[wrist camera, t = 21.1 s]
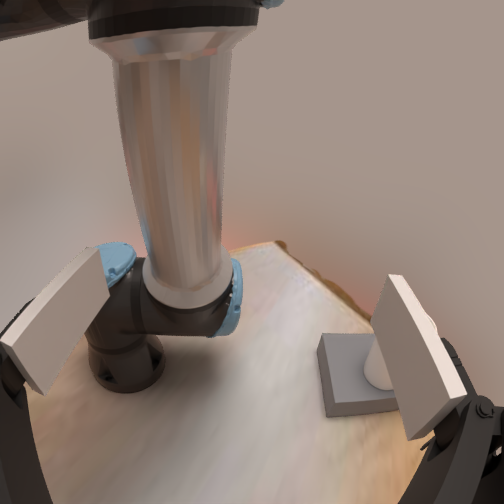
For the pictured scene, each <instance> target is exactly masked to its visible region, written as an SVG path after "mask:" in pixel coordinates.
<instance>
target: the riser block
mask: <svg viewBox="0 0 504 504" xmlns="http://www.w3.org/2000/svg"><path fill="white" fill-rule="evenodd" d="M374 339H375V334H330V333H322V336H321V339H320V342H319V345H318V348H317V355H318V361H319V367H320V374H321V381H322V387H323V394H324V402H325V409H326V417H339V416H352V415H363V414H372V413H380V412H387V411H394V410H399V406H398V403H397V400H396V396H395V393H394V390H381V389H378V388H376V387H374V386H373V385H371V384H370V383H369V382H368V381H367V379H366V378H365V375H364V371H363V368H364V364H365V361H366V358H367V356H368V354H369V351H370V349H371V346H372V344H373V341H374Z"/></svg>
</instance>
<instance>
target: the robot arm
mask: <svg viewBox="0 0 504 504" xmlns="http://www.w3.org/2000/svg"><path fill="white" fill-rule="evenodd" d="M283 2H284V0H0V41H3V40H7V39H12V38H17V37H21V36H26V35H31V34H35V33H40V32H44V31H49V30H53V29H57V28H60V27H64V26H67V25H70V24H75V23H78V22H81V21H85V20H88V29H89V43H90V44H91V45H93V46H95V47H96V48H98V49H99V50H101V51H103V52H104V53H106V54H107V55H108V56H109V57H110V58H111V60H112V66H113V78H114V87H115V96H116V104H117V112H118V119H119V126H120V132H121V138H122V144H123V150H124V156H125V161H126V166H127V171H128V176H129V181H130V185H131V190H132V194H133V199H134V203H135V207H136V211H137V215H138V219H139V223H140V227H141V231H142V234H143V238H144V242H145V245H146V249H147V252H148V255H147V257H146V258H140V257H136V252H135V250H134V249H133V247H132V246H131V245H129V244H127V243H123V242H111V243H106V244H102V245H99V246H96V247H93V248H91V247H86V248H85V249H84V250H83V251H82V252H81V253H80V254H79V255H78V256H77V257H75V258H74V259H73V260H72V261H71V262H70V263H69V264H68V265H67V266H66V267H65V268H64V269H63V270H62V271H61V272H60V273H59V274H58V275H57V276H56V277H55V278H54V279H53V280H52V281H51V282H50V283H49V284H48V285H47V286H46V287H45V288H44V289H43V290H42V291H41V292H40V293H39V295H38V296H37V297H35V298H34V299H32V300H31V301H29V302H28V303H26V304H25V305H24V307H23V308H22V309H21V310H20V312H19V313H17V314H16V316H15V317H14V319H12V320H11V321H10V323H9V324H8V325H7V326H6V327H5V329H4V330H3V331H2V332H1V333H0V504H53V502H52V499H51V497H50V494H49V491H48V488H47V485H46V482H45V479H44V476H43V473H42V470H41V466H40V462H39V459H38V455H37V451H36V447H35V442H34V438H33V433H32V428H31V422H30V416H29V410H28V403H27V394H26V390H25V387H24V386H23V384H24V383H25V381H26V382H27V383H28V384H29V386H30V387H31V388H32V390H34V391H36V392H38V393H40V394H42V395H44V396H46V395H47V393H48V391H49V389H50V387H51V386H52V384H53V382H54V381H55V379H56V377H57V375H58V374H59V372H60V370H61V369H62V367H63V365H64V364H65V362H66V361H67V359H68V357H69V356H70V354H71V353H72V351H73V349H74V348H75V346H76V345H77V343H78V342H79V340H80V339H81V337H82V336H83V334H85V336H86V338H87V341H88V351H89V364H90V368H91V370H92V372H93V374H94V376H95V378H96V379H97V381H98V382H99V383H100V384H101V385H102V386H104V387H105V388H107V389H109V390H112V391H115V392H120V393H132V392H137V391H140V390H143V389H145V388H147V387H149V386H150V385H152V384H153V383H154V382H155V381H156V380H157V379H158V378H159V377H160V376H161V374H162V372H163V370H164V367H165V354H164V350H163V347H162V344H161V342H160V341H159V339H158V338H157V336H156V335H168V336H206V337H208V338H212V337H216V336H227V335H230V334H231V333H233V332H234V330H235V329H236V327H237V325H238V321H239V318H240V312H241V308H240V306H241V303H242V294H243V278H242V269H241V265H240V263H239V262H238V261H237V260H236V259H232V258H230V255H229V253H228V251H227V250H226V249H225V248H224V246H223V245H222V244H221V230H222V227H221V226H222V201H223V178H224V156H225V139H226V122H227V108H228V94H229V80H230V69H231V57H232V49H233V48H234V46H235V45H236V44H237V43H238V42H240V41H241V40H242V39H244V38H245V37H246V36H248V35H249V34H250V33H252V32H253V31H255V30H256V28H257V22H258V14H259V8H260V7H265V8H266V9H269V8H271V7H278V6H279V5H281V4H282V3H283ZM370 322H371V325H372V328H373V330H374V333H375V336H376V339H377V341H378V344H379V347H380V350H381V353H382V356H383V359H384V362H385V365H386V368H387V371H388V374H389V377H390V380H391V383H392V386H393V390H394V393H395V396H396V400H397V403H398V406H399V410H400V413H401V417H402V421H403V424H404V428H405V432H406V436H407V440H408V441H410V440H415V439H419V438H423V437H425V436H426V435H427V434H429V433H430V432H431V431H432V430H434V433H435V436H434V437H433V438H431V439H430V440H429V441H428V442H427V443H425V444H424V445H423V446H422V448H421V449H420V450H424V449H425V448H426V447H427V446H428V448H427V450H426V452H425V454H424V457H423V459H422V461H421V463H420V465H419V467H418V469H417V471H416V473H415V475H414V476H413V478H412V480H411V482H410V484H409V486H408V487H407V489H406V491H405V493H404V494H403V496H402V498H401V499H400V501H399V502H398V504H504V407H496V406H494V404H493V403H492V402H491V400H490V399H488V398H487V397H484V396H478V395H477V394H476V392H475V389H474V387H473V385H472V383H471V381H470V379H469V377H468V375H467V373H466V371H465V369H464V367H463V366H462V363H461V361H460V359H459V358H458V355H457V353H456V351H455V349H454V348H453V346H452V345H451V344H450V343H449V342H448V341H447V340H446V339H445V338H439V336H438V334H437V332H436V330H435V329H434V327H433V325H432V323H431V322H430V320H429V318H428V316H427V315H426V313H425V311H424V310H423V308H422V306H421V305H420V303H419V301H418V300H417V298H416V297H415V295H414V293H413V292H412V290H411V288H410V287H409V286H408V284H407V282H406V281H405V279H404V278H403V276H402V275H390V274H388V275H387V278H386V281H385V284H384V287H383V290H382V292H381V295H380V298H379V301H378V303H377V306H376V308H375V311H374V313H373V316H372V318H371V321H370ZM501 446H502V448H501V453H500V454H499V455H498V456H497V455H496V450H497V449H498V448H499V447H501Z"/></svg>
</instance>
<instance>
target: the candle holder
mask: <svg viewBox="0 0 504 504" xmlns="http://www.w3.org/2000/svg"><path fill="white" fill-rule="evenodd" d="M426 315H427V314H426ZM427 316H428V315H427ZM428 318H429V320H430V322H431V323H432V325H433V327H434V329H435V330H436V332H437V328H436V325H435V323H434V321H433V320H432V319H431V318H430V317H429V316H428ZM363 371H364V375H365V378H366V379H367V381H368V382H369V383H370V384H371V385H373V386H374V387H376V388H378V389H381V390H393V386H392V383H391V380H390V377H389V374H388V371H387V368H386V365H385V362H384V359H383V356H382V353H381V350H380V347H379V344H378V341H377V339H376V336H375V339H374V341H373V344H372V346H371V349H370V351H369V354H368V356H367V358H366V361H365V364H364V368H363Z"/></svg>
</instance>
